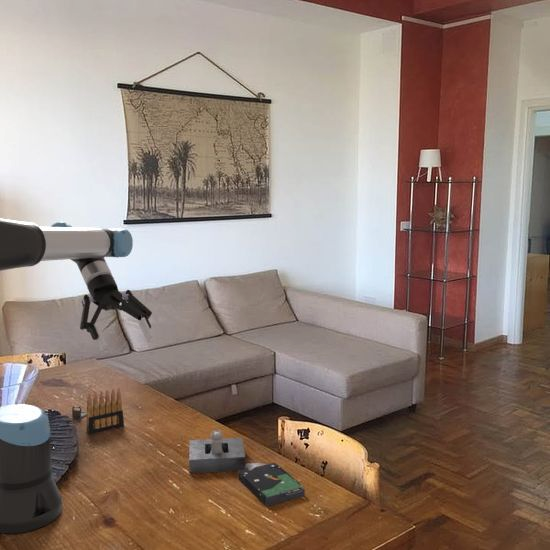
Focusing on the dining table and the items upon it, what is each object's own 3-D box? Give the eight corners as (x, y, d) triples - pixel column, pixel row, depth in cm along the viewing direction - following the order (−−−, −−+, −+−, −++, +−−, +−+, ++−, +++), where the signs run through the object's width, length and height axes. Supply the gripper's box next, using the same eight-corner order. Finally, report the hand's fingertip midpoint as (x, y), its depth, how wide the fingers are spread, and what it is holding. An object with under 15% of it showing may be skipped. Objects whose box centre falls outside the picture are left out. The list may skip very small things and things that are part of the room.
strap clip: (80, 414, 190) (79, 401, 189) (89, 414, 189) (88, 401, 188) (65, 424, 182) (64, 410, 181) (73, 425, 181) (73, 411, 180)
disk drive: (237, 481, 146) (266, 508, 133) (237, 470, 146) (266, 497, 133) (274, 472, 151) (305, 497, 138) (274, 461, 151) (306, 486, 138)
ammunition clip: (121, 424, 181) (120, 386, 179) (124, 426, 179) (122, 387, 177) (86, 432, 174) (84, 393, 173) (88, 434, 173) (86, 394, 171)
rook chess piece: (225, 457, 158) (225, 428, 157) (225, 464, 154) (224, 435, 153) (208, 457, 158) (208, 428, 157) (207, 465, 154) (207, 435, 153)
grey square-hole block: (245, 470, 151) (245, 456, 151) (189, 473, 149) (189, 460, 149) (242, 449, 163) (242, 437, 162) (190, 452, 161) (189, 440, 161)
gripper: (135, 284, 178) (163, 343, 169) (52, 294, 161) (78, 360, 152) (144, 268, 173) (173, 328, 164) (59, 277, 156) (87, 344, 148)
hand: (128, 344), depth 158 cm, fingers open, 13 cm apart
